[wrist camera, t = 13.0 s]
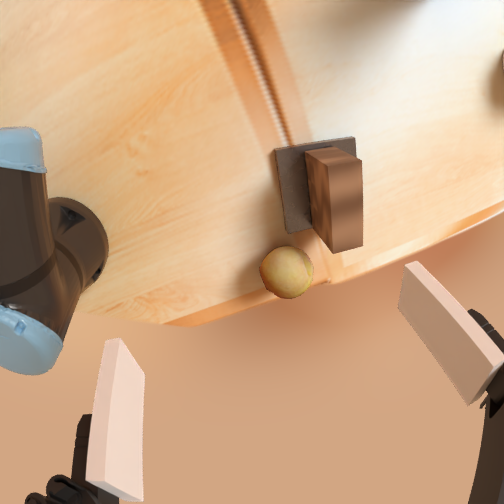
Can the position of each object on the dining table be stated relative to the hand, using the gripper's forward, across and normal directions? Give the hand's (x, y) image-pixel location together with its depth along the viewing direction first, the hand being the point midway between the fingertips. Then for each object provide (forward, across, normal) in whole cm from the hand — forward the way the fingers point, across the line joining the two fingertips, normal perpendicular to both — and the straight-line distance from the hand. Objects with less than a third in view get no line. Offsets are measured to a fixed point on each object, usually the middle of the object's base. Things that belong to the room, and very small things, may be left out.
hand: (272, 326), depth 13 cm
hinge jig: (+32, +14, -7) cm, 35 cm away
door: (+30, +14, -7) cm, 34 cm away
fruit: (+32, +7, -18) cm, 37 cm away
